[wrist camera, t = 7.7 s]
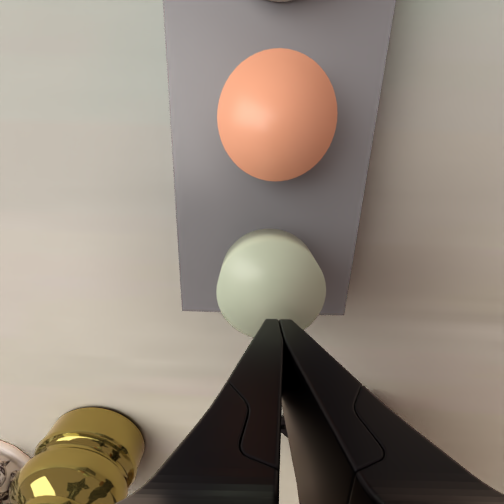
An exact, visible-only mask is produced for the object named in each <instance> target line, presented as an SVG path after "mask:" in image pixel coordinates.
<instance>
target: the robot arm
mask: <svg viewBox="0 0 504 504" xmlns="http://www.w3.org/2000/svg"><path fill="white" fill-rule="evenodd" d="M282 408H283V413H284V416H282V417H281V410H282ZM281 433H283V434H284V435H285V436H286V437H287V438H288V440H289V445H290V450H291V456H292V461H293V466H294V471H295V477H296V482H297V489H298V497H299V504H504V495H503V494H501V493H500V492H498V491H496V490H494V489H493V488H491V487H490V486H488V485H487V484H485V483H483V482H482V481H481V480H479V479H478V478H477V477H475V476H474V475H472V474H471V473H470V472H469V471H467V470H466V469H465V468H463V467H462V466H461V465H460V464H458V463H457V462H456V461H455V460H453V459H452V458H451V457H449V456H448V455H447V454H446V453H444V452H443V451H442V450H440V449H439V448H438V447H437V446H435V445H434V444H433V443H432V442H430V441H429V440H428V439H426V438H425V437H424V436H423V435H421V434H420V433H419V432H417V431H416V430H415V429H414V428H412V427H411V426H410V425H409V424H407V423H406V422H405V421H404V420H403V419H401V418H400V417H399V416H398V415H396V414H395V413H394V412H393V411H391V410H390V409H389V408H388V407H387V406H386V405H385V404H383V403H382V402H381V401H380V400H379V399H378V398H377V397H376V396H374V395H373V394H372V393H371V392H370V391H369V390H368V389H367V388H366V387H365V386H362V384H361V383H360V382H359V381H358V380H357V379H356V378H355V377H354V376H353V375H351V374H350V373H349V372H348V371H347V370H346V369H345V368H344V367H343V366H342V365H341V364H339V363H338V362H337V361H336V360H335V359H334V358H333V357H332V356H331V355H330V354H329V353H328V352H326V351H325V350H324V349H323V348H322V347H321V346H320V345H319V344H318V343H317V342H316V341H315V340H313V339H312V338H311V337H310V336H309V335H308V334H307V333H306V332H305V331H304V330H303V329H301V328H300V327H299V326H298V325H297V324H296V323H295V322H294V321H293V320H291V319H280V320H279V321H278V319H265V320H264V322H263V324H262V325H261V327H260V328H259V330H258V332H257V333H256V335H255V337H254V338H253V340H252V341H251V343H250V345H249V346H248V348H247V350H246V351H245V353H244V354H243V356H242V358H241V359H240V361H239V362H238V364H237V366H236V367H235V369H234V371H233V372H232V374H231V375H230V377H229V379H228V380H227V383H225V385H224V387H223V388H222V390H221V391H220V393H219V394H218V396H217V397H216V399H215V400H214V402H213V403H212V405H211V406H210V408H209V409H208V410H207V412H206V413H205V414H204V415H203V417H202V418H201V419H200V421H199V422H198V423H197V424H196V425H195V427H194V428H193V429H192V430H191V432H190V433H189V434H188V435H187V436H186V438H185V439H184V440H183V441H182V442H181V444H180V445H179V446H178V447H177V448H176V450H175V451H174V452H173V453H172V454H171V456H170V457H169V458H168V459H167V460H166V462H165V463H164V464H163V465H162V466H161V468H160V469H159V470H158V471H157V472H156V473H155V475H154V476H153V477H152V478H151V479H150V480H149V481H148V482H147V483H146V484H144V485H143V486H142V487H141V488H140V489H139V490H137V491H136V492H134V493H133V494H132V495H130V496H128V497H127V498H125V499H123V500H121V501H119V502H117V503H115V504H279V471H280V441H281Z"/></svg>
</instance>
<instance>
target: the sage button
mask: <svg viewBox="0 0 504 504" xmlns="http://www.w3.org/2000/svg"><path fill="white" fill-rule="evenodd" d="M216 294H217V302H218V306H219V308H220V311H221V313H222V314H223V316H224V318H225V319H226V320H227V322H228V323H229V324H230V325H231V326H232V327H234V328H235V329H236V330H238V331H239V332H241V333H243V334H245V335H247V336H250V337H253V338H254V337H255V335H256V333H257V332H258V330H259V328H260V327H261V325H262V324H263V322H264V320H265V319H278V321H279V320H280V319H291V320H293V321H294V322H295V323H296V324H297V325H298V326H299V327H300V328H301V329H303V330H304V329H306V328H307V327H308V326H309V325H310V324H311V323H312V322H313V321H314V320H315V319H316V318H317V316H318V315H319V313H320V311H321V309H322V307H323V305H324V302H325V297H326V283H325V278H324V275H323V273H322V270H321V269H320V267H319V265H318V264H317V262H316V260H315V259H314V257H313V255H312V254H311V252H310V250H309V249H308V247H307V246H306V245H305V244H304V243H303V242H302V241H301V240H300V239H299V238H297V237H296V236H295V235H293V234H291V233H289V232H286V231H283V230H279V229H260V230H256V231H252V232H250V233H248V234H246V235H244V236H242V237H241V238H239V239H238V240H237V241H236V242H235V243H234V244H233V245H232V246H231V247H230V249H229V250H228V252H227V253H226V255H225V258H224V260H223V264H222V267H221V271H220V275H219V278H218V283H217V290H216Z"/></svg>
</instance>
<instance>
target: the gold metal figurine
mask: <svg viewBox="0 0 504 504" xmlns="http://www.w3.org/2000/svg"><path fill="white" fill-rule="evenodd" d="M143 453H144V439H143V436H142V434H141V432H140V431H139V429H138V428H137V427H136V426H135V424H134V423H133V422H131V421H130V420H129V419H127V418H126V417H124V416H123V415H121V414H119V413H117V412H114V411H111V410H108V409H103V408H95V407H88V408H80V409H76V410H72V411H70V412H68V413H66V414H64V415H63V416H61V417H60V418H59V419H58V420H57V421H56V422H55V424H54V425H53V426H52V428H51V429H50V431H49V432H48V433H47V435H46V436H45V437H44V439H42V440H41V441H40V442H39V444H38V445H37V447H36V449H35V452H34V457H32V458H31V459H30V460H28V461H27V462H26V463H25V464H24V465H23V466H22V468H21V469H20V470H19V471H18V472H17V473H16V475H15V476H14V478H13V480H12V482H11V484H10V487H9V493H8V499H9V504H115V503H117V502H119V501H121V500H123V499H125V498H127V495H128V488H129V487H130V486H131V485H132V483H133V482H134V480H135V478H136V474H137V469H138V466H139V464H140V461H141V458H142V456H143Z"/></svg>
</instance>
